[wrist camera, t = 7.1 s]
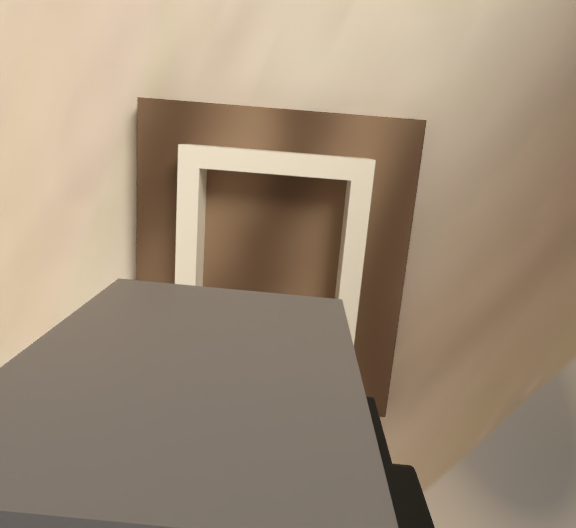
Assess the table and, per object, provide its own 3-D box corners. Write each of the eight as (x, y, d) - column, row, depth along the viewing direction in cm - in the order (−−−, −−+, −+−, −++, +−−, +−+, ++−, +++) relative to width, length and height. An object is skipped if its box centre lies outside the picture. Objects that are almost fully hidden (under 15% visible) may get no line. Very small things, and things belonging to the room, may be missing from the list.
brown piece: (421, 121, 25) (437, 118, 22) (382, 407, 29) (391, 437, 26) (143, 99, 25) (123, 93, 22) (141, 387, 29) (123, 415, 26)
